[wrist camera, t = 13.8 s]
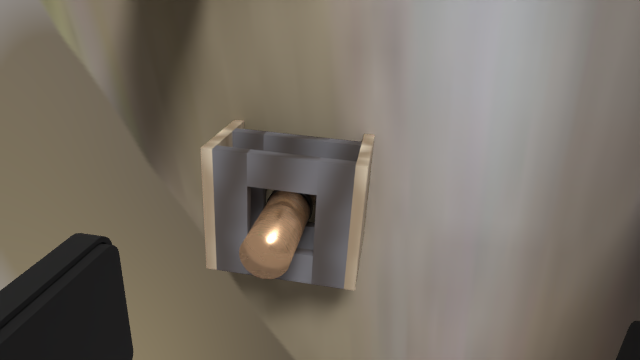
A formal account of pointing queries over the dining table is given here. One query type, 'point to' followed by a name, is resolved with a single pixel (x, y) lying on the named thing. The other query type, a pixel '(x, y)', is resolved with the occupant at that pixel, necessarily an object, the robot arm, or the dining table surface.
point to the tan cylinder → (276, 234)
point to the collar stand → (293, 176)
